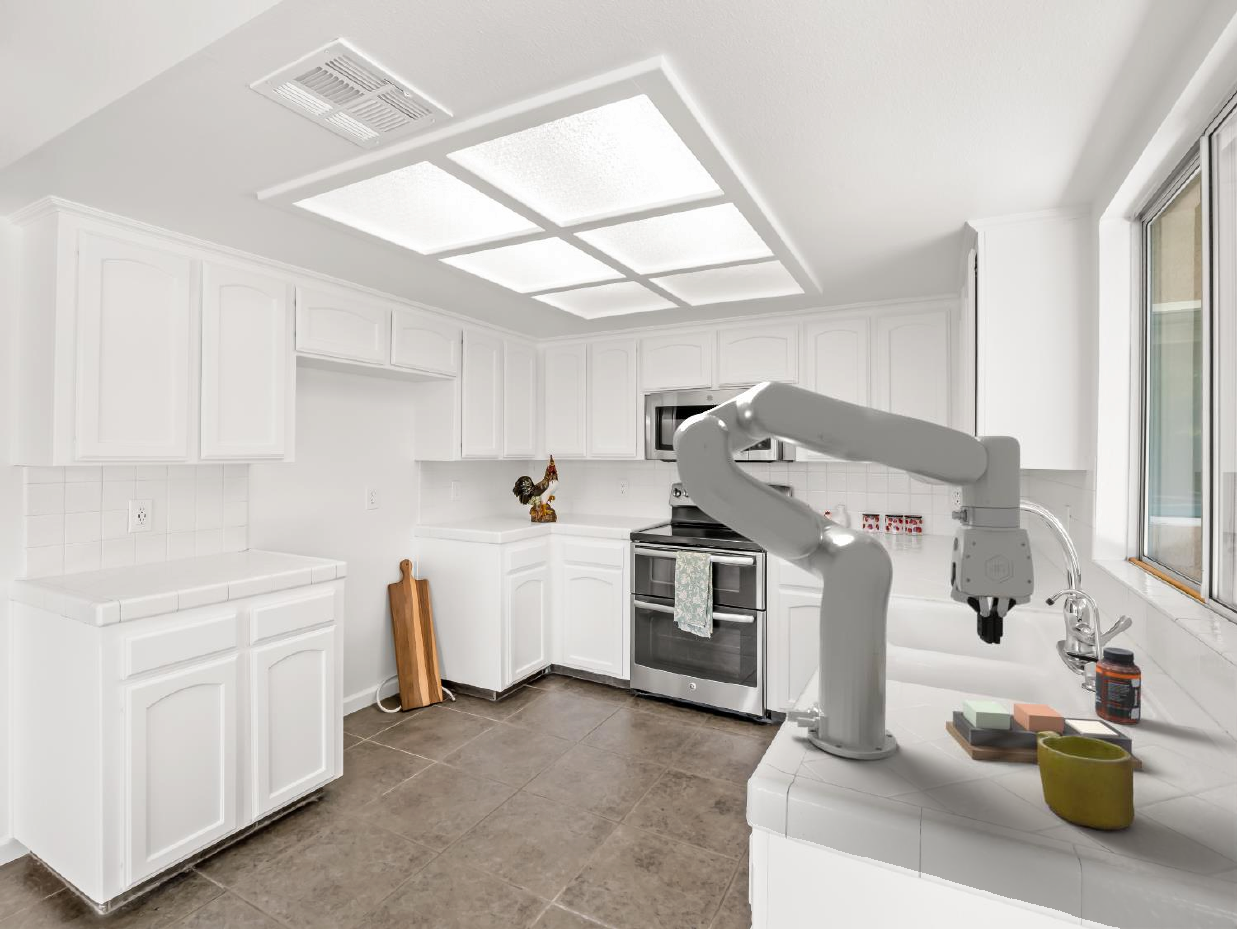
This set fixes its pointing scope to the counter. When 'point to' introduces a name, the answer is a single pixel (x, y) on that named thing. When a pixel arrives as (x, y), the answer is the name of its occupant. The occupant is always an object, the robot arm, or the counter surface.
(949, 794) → the counter surface
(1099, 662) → the supplement bottle
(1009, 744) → the key panel
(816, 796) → the counter surface
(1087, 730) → the key cream
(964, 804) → the counter surface
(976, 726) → the key sage
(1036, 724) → the key terracotta
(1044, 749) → the mug
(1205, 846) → the counter surface
